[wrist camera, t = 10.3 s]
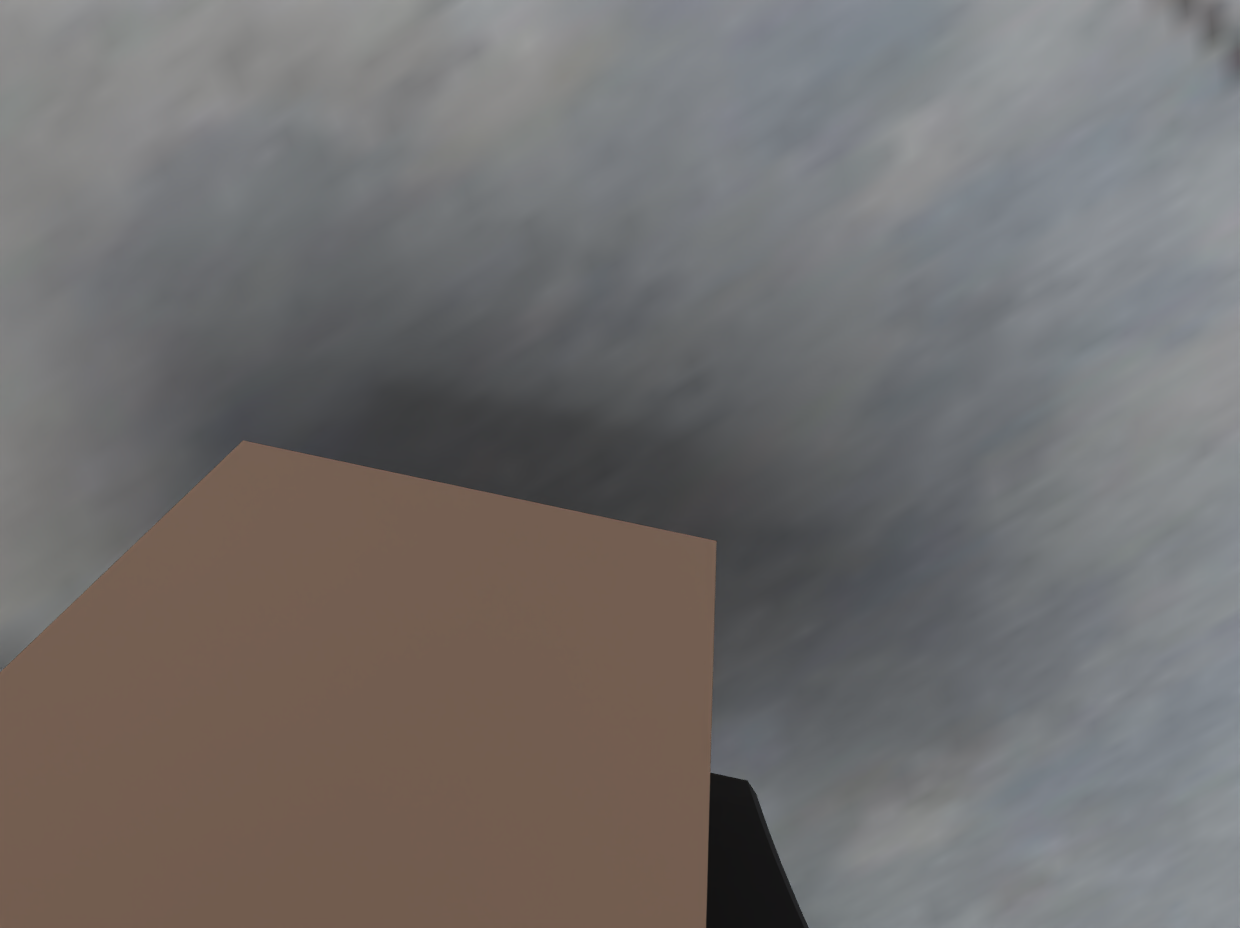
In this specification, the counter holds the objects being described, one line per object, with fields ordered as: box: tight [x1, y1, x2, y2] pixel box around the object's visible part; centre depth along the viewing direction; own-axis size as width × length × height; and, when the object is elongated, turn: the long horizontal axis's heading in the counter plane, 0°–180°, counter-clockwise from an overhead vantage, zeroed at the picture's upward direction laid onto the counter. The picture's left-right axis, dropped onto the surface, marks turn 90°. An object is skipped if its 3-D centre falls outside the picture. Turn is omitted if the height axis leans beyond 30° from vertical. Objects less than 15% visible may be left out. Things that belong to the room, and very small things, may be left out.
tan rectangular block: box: [0, 441, 717, 928], centre depth 9 cm, size 4×4×6 cm
